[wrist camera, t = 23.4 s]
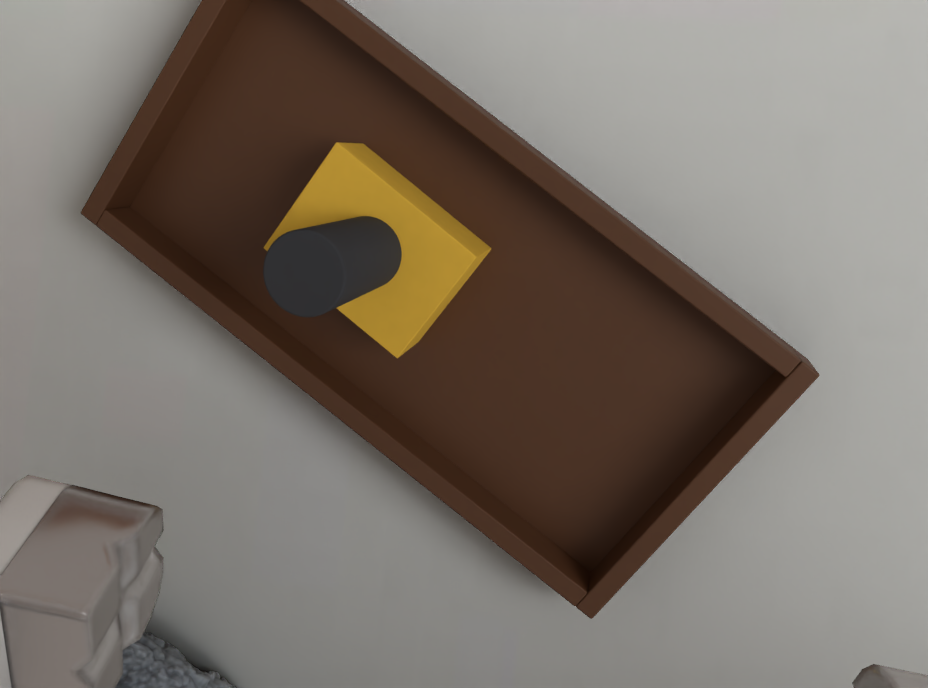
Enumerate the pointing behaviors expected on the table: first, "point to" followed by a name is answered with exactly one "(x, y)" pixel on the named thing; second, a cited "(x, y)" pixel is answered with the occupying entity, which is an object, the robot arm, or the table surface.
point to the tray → (473, 307)
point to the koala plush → (163, 667)
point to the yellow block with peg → (369, 250)
